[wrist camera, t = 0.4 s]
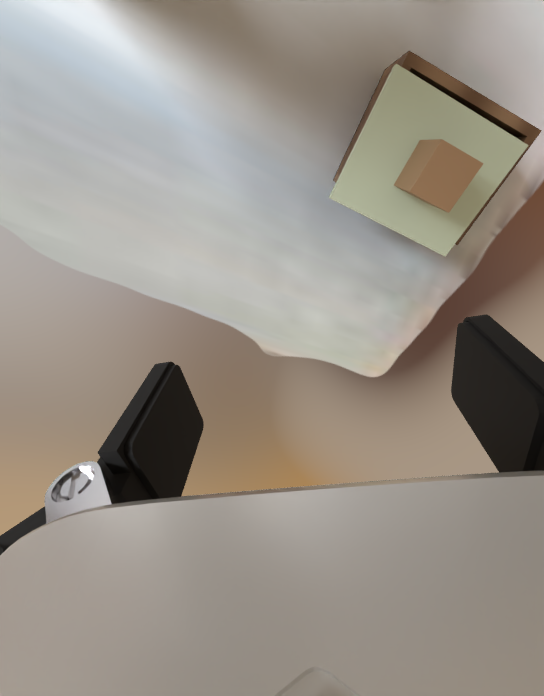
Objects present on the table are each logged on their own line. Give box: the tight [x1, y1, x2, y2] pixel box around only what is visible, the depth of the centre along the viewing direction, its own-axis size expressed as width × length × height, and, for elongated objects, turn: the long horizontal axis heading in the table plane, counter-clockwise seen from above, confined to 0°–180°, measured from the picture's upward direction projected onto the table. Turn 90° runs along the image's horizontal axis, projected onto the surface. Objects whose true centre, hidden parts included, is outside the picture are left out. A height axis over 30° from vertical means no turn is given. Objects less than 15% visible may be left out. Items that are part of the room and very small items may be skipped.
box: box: [333, 51, 541, 245], centre depth 34 cm, size 14×11×8 cm
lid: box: [329, 64, 529, 257], centre depth 28 cm, size 14×11×6 cm
